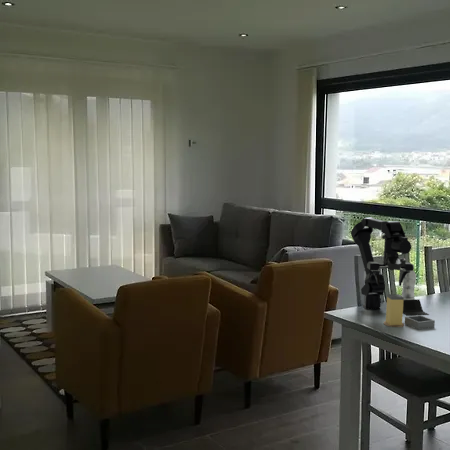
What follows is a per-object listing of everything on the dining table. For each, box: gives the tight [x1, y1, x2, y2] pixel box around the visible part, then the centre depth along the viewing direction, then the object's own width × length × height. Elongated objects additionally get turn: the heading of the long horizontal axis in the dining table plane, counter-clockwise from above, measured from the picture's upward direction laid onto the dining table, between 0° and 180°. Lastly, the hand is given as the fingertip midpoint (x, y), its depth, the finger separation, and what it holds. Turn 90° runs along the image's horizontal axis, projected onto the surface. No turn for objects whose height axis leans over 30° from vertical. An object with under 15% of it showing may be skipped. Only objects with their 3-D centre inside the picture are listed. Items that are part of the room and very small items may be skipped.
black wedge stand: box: [403, 298, 430, 317], centre depth 265 cm, size 12×7×10 cm
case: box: [404, 315, 436, 330], centre depth 249 cm, size 17×8×4 cm, turn 23°
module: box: [385, 293, 404, 325], centre depth 246 cm, size 5×5×12 cm
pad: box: [383, 320, 405, 328], centre depth 246 cm, size 8×8×1 cm
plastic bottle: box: [401, 264, 417, 300], centre depth 275 cm, size 6×7×20 cm
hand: (389, 285), depth 261 cm, fingers open, 9 cm apart
